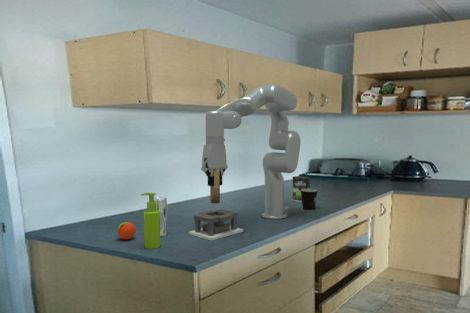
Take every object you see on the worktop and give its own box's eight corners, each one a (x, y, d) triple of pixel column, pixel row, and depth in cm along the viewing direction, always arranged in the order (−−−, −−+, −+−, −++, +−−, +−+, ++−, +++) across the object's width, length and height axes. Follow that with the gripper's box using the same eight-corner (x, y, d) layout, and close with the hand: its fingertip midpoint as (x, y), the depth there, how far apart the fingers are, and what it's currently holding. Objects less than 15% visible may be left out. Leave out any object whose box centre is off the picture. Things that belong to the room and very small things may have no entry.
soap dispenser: (147, 243, 147) (145, 191, 146) (163, 244, 145) (162, 192, 144) (139, 247, 142) (137, 194, 140) (155, 249, 140) (154, 194, 138)
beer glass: (168, 236, 157) (168, 199, 156) (151, 237, 155) (150, 200, 154) (166, 231, 163) (166, 196, 162) (150, 233, 161) (149, 197, 160)
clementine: (123, 243, 147) (123, 225, 147) (111, 240, 151) (111, 222, 151) (139, 238, 154) (139, 221, 153) (128, 235, 158) (127, 218, 157)
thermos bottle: (215, 201, 163) (215, 158, 162) (222, 202, 160) (221, 159, 159) (208, 202, 160) (207, 159, 159) (214, 203, 157) (214, 159, 156)
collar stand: (220, 225, 173) (220, 208, 172) (243, 231, 163) (242, 212, 162) (188, 234, 160) (188, 214, 159) (211, 240, 150) (210, 220, 149)
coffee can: (308, 202, 226) (308, 178, 225) (291, 201, 229) (291, 177, 228) (310, 199, 235) (310, 176, 234) (293, 198, 238) (293, 175, 237)
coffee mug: (309, 206, 213) (309, 188, 213) (320, 209, 206) (320, 190, 205) (293, 209, 207) (293, 190, 206) (304, 211, 200) (304, 192, 199)
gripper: (223, 140, 167) (223, 182, 168) (193, 141, 155) (193, 186, 156) (235, 141, 162) (235, 184, 163) (205, 141, 150) (205, 188, 151)
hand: (215, 184), depth 160 cm, fingers closed on thermos bottle, 4 cm apart
